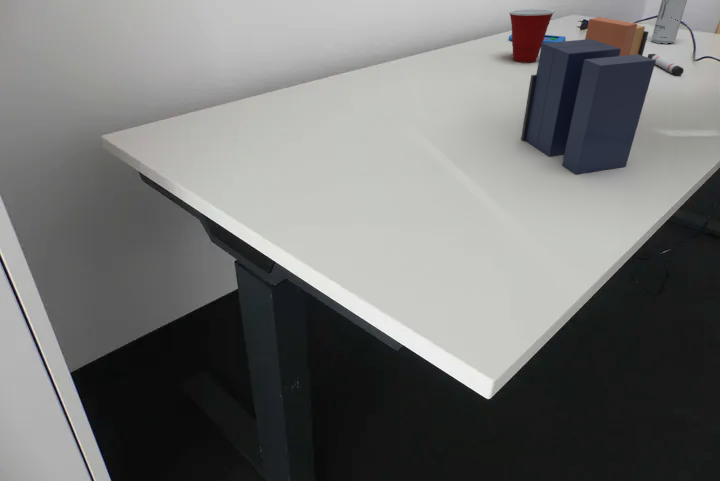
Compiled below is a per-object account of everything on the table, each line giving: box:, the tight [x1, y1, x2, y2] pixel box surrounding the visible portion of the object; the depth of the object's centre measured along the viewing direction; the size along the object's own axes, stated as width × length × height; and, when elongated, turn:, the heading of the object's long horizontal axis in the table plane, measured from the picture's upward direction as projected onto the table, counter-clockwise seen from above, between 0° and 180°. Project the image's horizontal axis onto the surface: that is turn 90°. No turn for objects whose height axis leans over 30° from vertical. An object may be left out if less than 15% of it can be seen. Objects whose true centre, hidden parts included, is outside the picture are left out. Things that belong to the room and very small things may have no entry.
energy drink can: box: [651, 0, 688, 45], centre depth 148 cm, size 6×6×15 cm
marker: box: [647, 53, 685, 77], centre depth 130 cm, size 15×2×2 cm, turn 1°
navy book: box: [561, 54, 656, 175], centre depth 79 cm, size 4×9×16 cm, turn 107°
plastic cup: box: [508, 8, 555, 64], centre depth 134 cm, size 11×11×12 cm
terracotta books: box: [584, 16, 650, 56], centre depth 117 cm, size 8×10×13 cm
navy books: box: [520, 39, 621, 157], centre depth 86 cm, size 8×10×16 cm
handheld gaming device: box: [508, 33, 567, 43], centre depth 155 cm, size 8×1×15 cm
